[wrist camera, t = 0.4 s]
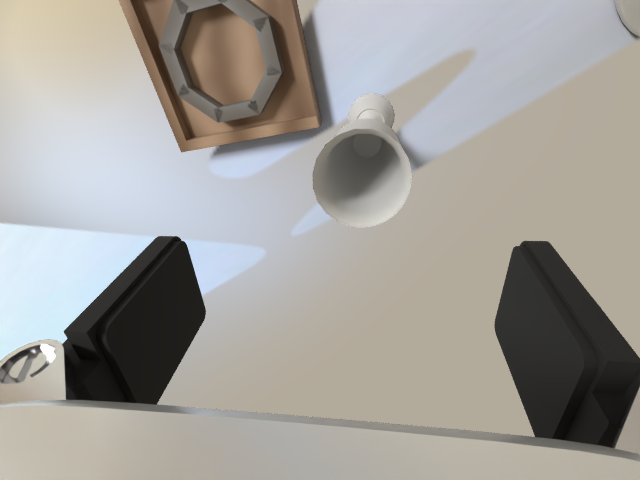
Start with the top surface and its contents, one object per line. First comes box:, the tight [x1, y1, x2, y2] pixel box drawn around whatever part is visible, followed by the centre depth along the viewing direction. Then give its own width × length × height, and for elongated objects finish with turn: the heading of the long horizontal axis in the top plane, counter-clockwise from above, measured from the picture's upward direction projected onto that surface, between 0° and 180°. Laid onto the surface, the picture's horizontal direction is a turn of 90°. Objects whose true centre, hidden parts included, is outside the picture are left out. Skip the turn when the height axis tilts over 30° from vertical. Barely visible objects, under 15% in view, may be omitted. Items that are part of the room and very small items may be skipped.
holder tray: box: [119, 0, 322, 152], centre depth 38 cm, size 17×17×2 cm
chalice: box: [313, 93, 412, 227], centre depth 33 cm, size 7×7×18 cm
